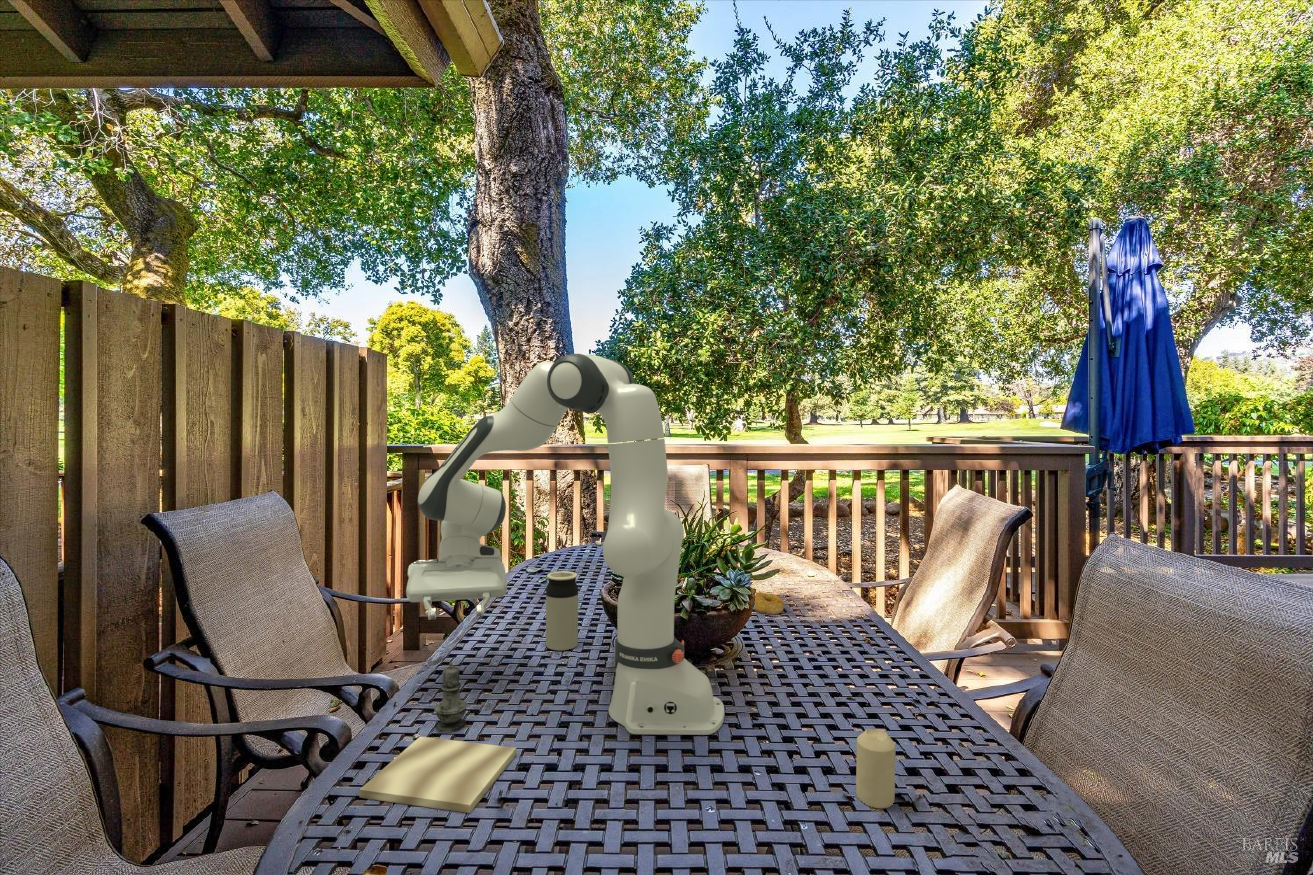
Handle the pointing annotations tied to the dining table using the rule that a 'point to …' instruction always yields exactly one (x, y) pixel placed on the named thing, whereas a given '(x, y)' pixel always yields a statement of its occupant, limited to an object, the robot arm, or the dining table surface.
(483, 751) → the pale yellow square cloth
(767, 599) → the bagel
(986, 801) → the dining table surface
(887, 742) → the candle
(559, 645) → the travel mug
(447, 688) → the weathered chess pawn
